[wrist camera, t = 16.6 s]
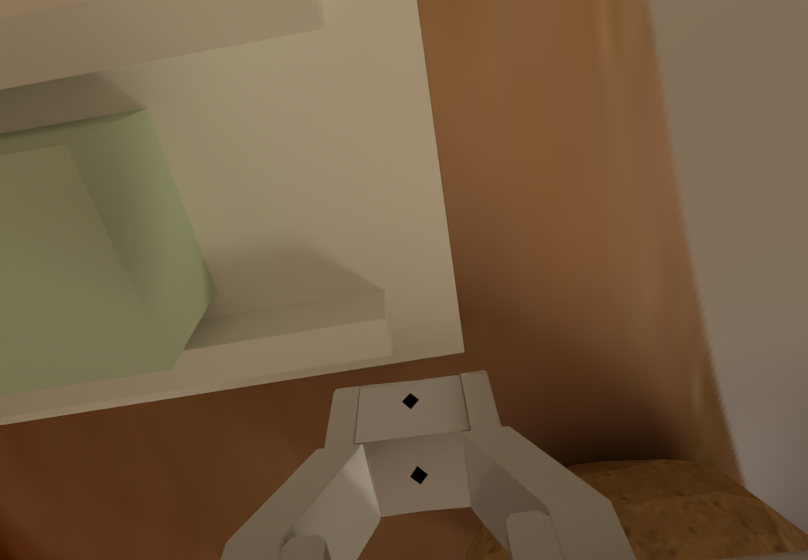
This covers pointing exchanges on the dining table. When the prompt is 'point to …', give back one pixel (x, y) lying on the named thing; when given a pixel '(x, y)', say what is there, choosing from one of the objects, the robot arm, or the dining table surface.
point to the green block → (93, 255)
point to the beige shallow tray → (261, 176)
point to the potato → (677, 513)
